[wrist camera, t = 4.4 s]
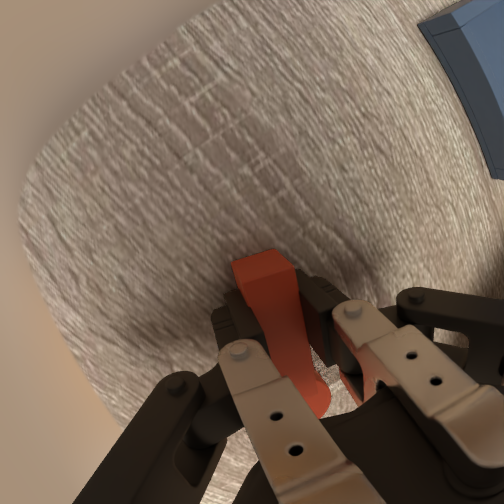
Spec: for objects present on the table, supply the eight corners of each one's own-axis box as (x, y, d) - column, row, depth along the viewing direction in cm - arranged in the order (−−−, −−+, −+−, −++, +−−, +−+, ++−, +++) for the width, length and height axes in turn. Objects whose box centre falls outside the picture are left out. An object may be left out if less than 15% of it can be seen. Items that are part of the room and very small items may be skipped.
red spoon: (207, 268, 12) (214, 291, 10) (296, 240, 13) (319, 257, 11) (261, 426, 15) (273, 456, 13) (325, 403, 16) (342, 429, 14)
